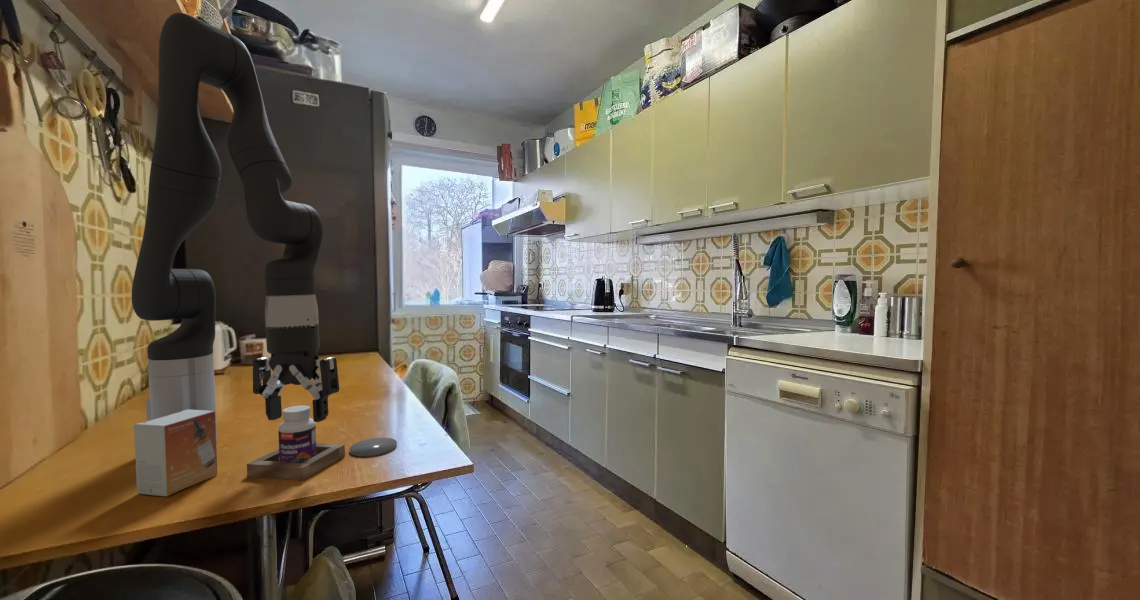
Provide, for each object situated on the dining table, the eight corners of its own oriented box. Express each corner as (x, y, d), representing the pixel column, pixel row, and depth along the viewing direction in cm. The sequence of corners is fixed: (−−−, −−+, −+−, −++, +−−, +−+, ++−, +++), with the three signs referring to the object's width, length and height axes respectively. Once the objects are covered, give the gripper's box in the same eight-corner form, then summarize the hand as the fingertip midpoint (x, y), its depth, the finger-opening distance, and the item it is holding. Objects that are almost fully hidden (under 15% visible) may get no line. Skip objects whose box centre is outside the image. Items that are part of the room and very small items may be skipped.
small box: (166, 498, 66) (162, 426, 65) (135, 494, 67) (131, 423, 66) (219, 474, 74) (216, 410, 73) (191, 472, 75) (187, 408, 74)
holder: (247, 476, 73) (246, 463, 73) (294, 452, 83) (294, 441, 83) (303, 480, 71) (302, 467, 71) (344, 455, 81) (344, 444, 81)
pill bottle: (276, 474, 74) (273, 414, 73) (283, 462, 79) (281, 406, 78) (314, 469, 76) (312, 410, 75) (319, 457, 81) (317, 402, 80)
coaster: (339, 455, 81) (339, 452, 81) (366, 439, 89) (366, 436, 89) (381, 458, 80) (381, 454, 80) (405, 441, 88) (404, 438, 88)
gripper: (235, 325, 73) (240, 425, 74) (314, 324, 71) (319, 428, 71) (273, 321, 81) (278, 412, 81) (346, 320, 78) (350, 414, 79)
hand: (297, 419), depth 76 cm, fingers open, 8 cm apart
